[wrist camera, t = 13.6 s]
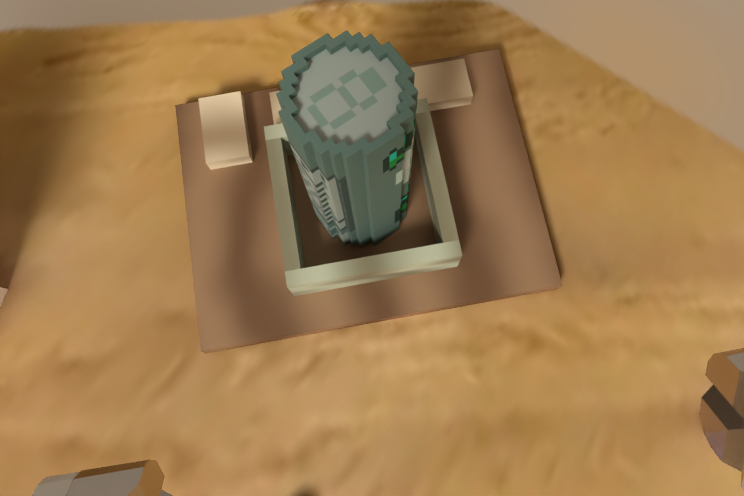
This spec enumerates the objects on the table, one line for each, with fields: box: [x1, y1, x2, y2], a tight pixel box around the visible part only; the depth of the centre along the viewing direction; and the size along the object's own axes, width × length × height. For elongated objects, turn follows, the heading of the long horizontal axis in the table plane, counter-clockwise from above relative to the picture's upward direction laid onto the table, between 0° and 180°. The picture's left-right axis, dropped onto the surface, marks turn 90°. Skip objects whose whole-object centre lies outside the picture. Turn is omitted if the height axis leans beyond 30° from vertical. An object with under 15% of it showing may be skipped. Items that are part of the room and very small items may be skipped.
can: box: [276, 31, 418, 248], centre depth 35 cm, size 6×6×15 cm
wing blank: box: [269, 59, 473, 125], centre depth 43 cm, size 14×3×1 cm, turn 100°
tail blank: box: [198, 91, 253, 170], centre depth 43 cm, size 5×3×1 cm, turn 10°
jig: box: [175, 49, 562, 353], centre depth 41 cm, size 24×18×4 cm
